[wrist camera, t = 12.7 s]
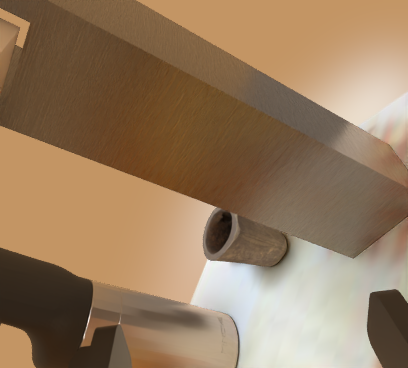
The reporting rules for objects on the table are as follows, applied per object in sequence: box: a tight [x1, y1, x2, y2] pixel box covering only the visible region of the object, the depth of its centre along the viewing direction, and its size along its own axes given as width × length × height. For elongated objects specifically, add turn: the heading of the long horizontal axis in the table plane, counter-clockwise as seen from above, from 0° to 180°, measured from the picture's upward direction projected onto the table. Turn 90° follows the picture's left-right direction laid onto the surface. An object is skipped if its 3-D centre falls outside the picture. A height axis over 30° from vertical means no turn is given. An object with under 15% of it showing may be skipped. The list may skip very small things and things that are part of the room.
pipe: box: [203, 207, 287, 267], centre depth 44 cm, size 6×13×8 cm, turn 67°
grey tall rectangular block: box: [0, 0, 408, 258], centre depth 27 cm, size 8×7×35 cm
